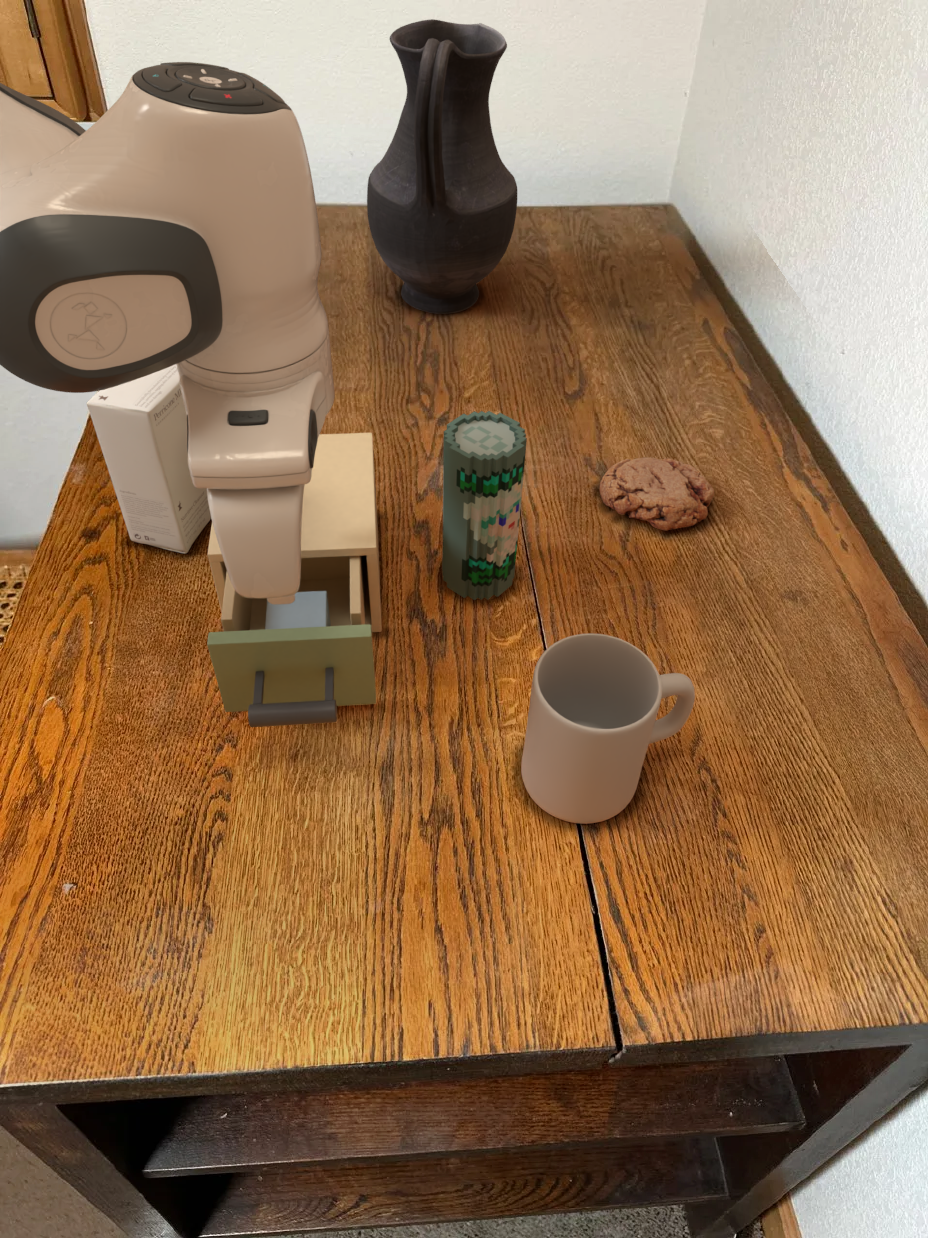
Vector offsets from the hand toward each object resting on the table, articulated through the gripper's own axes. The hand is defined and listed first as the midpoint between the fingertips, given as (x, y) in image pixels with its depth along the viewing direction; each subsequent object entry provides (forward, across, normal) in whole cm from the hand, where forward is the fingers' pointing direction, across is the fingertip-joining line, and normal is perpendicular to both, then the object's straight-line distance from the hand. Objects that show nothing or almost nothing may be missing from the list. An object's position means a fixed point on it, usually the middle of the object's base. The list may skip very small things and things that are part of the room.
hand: (285, 548), depth 65 cm
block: (+11, 0, 0) cm, 11 cm away
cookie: (+13, -19, +33) cm, 40 cm away
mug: (+13, +11, +22) cm, 28 cm away
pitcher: (+13, -58, +15) cm, 61 cm away
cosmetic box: (+13, -19, -12) cm, 26 cm away
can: (+13, -10, +15) cm, 22 cm away
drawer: (+12, 0, 0) cm, 12 cm away
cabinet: (+13, -11, 0) cm, 17 cm away
